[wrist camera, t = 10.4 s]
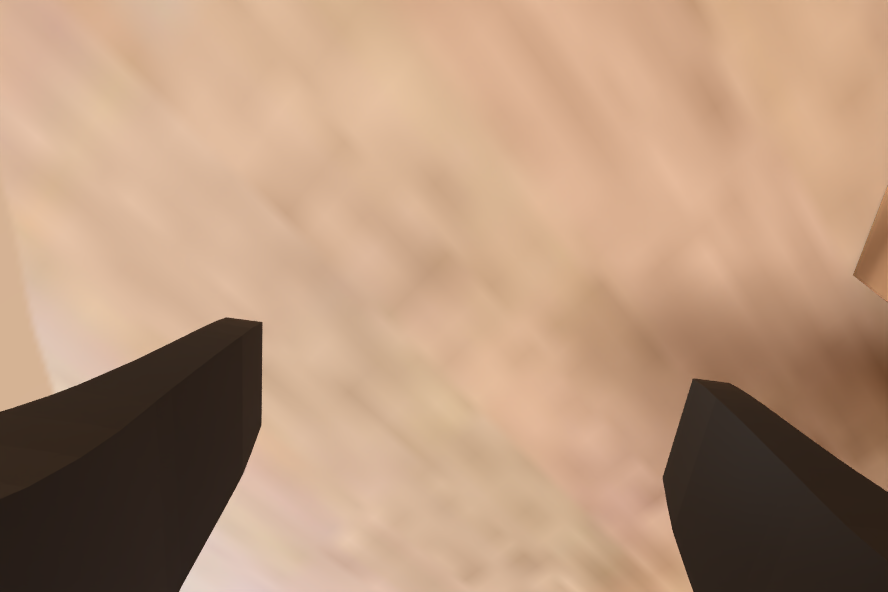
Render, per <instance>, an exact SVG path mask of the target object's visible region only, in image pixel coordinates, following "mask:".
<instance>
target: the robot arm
mask: <svg viewBox="0 0 888 592" xmlns="http://www.w3.org/2000/svg"><path fill="white" fill-rule="evenodd" d="M261 414H262V322H257V321H249V320H242V319H234V318H224V319H221V320H218V321H216V322H213V323H211V324H209V325H207V326H205V327H202V328H200V329H198V330H196V331H194V332H192V333H190V334H188V335H186V336H184V337H182V338H180V339H178V340H176V341H174V342H172V343H170V344H168V345H166V346H164V347H162V348H159V349H157V350H155V351H153V352H151V353H149V354H147V355H145V356H143V357H141V358H139V359H137V360H135V361H132V362H130V363H128V364H125V365H123V366H121V367H118V368H116V369H114V370H112V371H109V372H107V373H105V374H102V375H100V376H98V377H95V378H93V379H91V380H89V381H86V382H84V383H82V384H79V385H77V386H74V387H71V388H69V389H66V390H64V391H61V392H58V393H55V394H53V395H50V396H48V397H44V398H41V399H38V400H36V401H32V402H29V403H26V404H24V405H20V406H17V407H15V408H11V409H8V410H5V411H1V412H0V592H179V591H180V589H181V586H182V585H183V583H184V581H185V579H186V577H187V576H188V574H189V572H190V570H191V568H192V566H193V565H194V563H195V561H196V559H197V557H198V556H199V554H200V552H201V550H202V548H203V547H204V545H205V543H206V541H207V539H208V538H209V536H210V534H211V532H212V530H213V528H214V527H215V525H216V523H217V521H218V519H219V518H220V516H221V514H222V512H223V510H224V508H225V507H226V505H227V503H228V501H229V499H230V497H231V496H232V494H233V492H234V490H235V488H236V486H237V484H238V483H239V481H240V479H241V477H242V475H243V473H244V470H245V467H246V465H247V462H248V460H249V457H250V455H251V452H252V449H253V447H254V444H255V441H256V438H257V436H258V433H259V430H260V427H261ZM663 483H664V488H665V494H666V500H667V506H668V511H669V515H670V520H671V525H672V530H673V533H674V536H675V539H676V542H677V546H678V548H679V551H680V554H681V557H682V560H683V563H684V566H685V569H686V572H687V575H688V578H689V580H690V583H691V586H692V589H693V592H888V492H887V491H885V490H884V489H882V488H881V487H879V486H878V485H876V484H875V483H873V482H872V481H870V480H869V479H867V478H866V477H864V476H863V475H861V474H860V473H858V472H857V471H855V470H854V469H852V468H851V467H849V466H848V465H846V464H845V463H843V462H842V461H841V460H839V459H838V458H836V457H835V456H833V455H832V454H831V453H829V452H828V451H826V450H825V449H824V448H822V447H821V446H819V445H818V444H817V443H815V442H814V441H812V440H811V439H810V438H808V437H807V436H806V435H804V434H803V433H801V432H800V431H799V430H797V429H796V428H795V427H793V426H792V425H791V424H789V423H788V422H786V421H785V420H784V419H782V418H781V417H780V416H778V415H777V414H776V413H774V412H773V411H771V410H770V409H769V408H767V407H766V406H764V405H763V404H762V403H760V402H759V401H757V400H756V399H754V398H753V397H752V396H750V395H749V394H747V393H746V392H744V391H742V390H741V389H739V388H737V387H736V386H734V385H732V384H730V383H724V382H716V381H709V380H701V379H693V380H692V383H691V387H690V390H689V393H688V396H687V400H686V403H685V406H684V409H683V413H682V416H681V419H680V423H679V426H678V429H677V432H676V436H675V439H674V442H673V445H672V449H671V452H670V455H669V458H668V462H667V465H666V468H665V472H664V475H663Z"/></svg>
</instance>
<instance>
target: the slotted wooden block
mask: <svg viewBox="0 0 888 592" xmlns="http://www.w3.org/2000/svg"><path fill="white" fill-rule="evenodd" d="M853 275H854V276H855V277H856V278H858V279H859V280H860V281H861V282H863V283H864V284H865V285H866V286H868V287H869V288H870V289H872V290H873V291H874V292H875V293H877V294H878V295H879V296H880V297H882V298H883V299H884V300H886V301H887V302H888V187H887V189H886V192H885V195H884V197H883V200H882V202H881V205H880V207H879V210H878V213H877V215H876V218H875V220H874V223H873V225H872V228H871V231H870V233H869V236H868V238H867V241H866V243H865V246H864V249H863V251H862V254H861V256H860V259H859V261H858V264H857V267H856V269H855V272H854V274H853Z"/></svg>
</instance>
